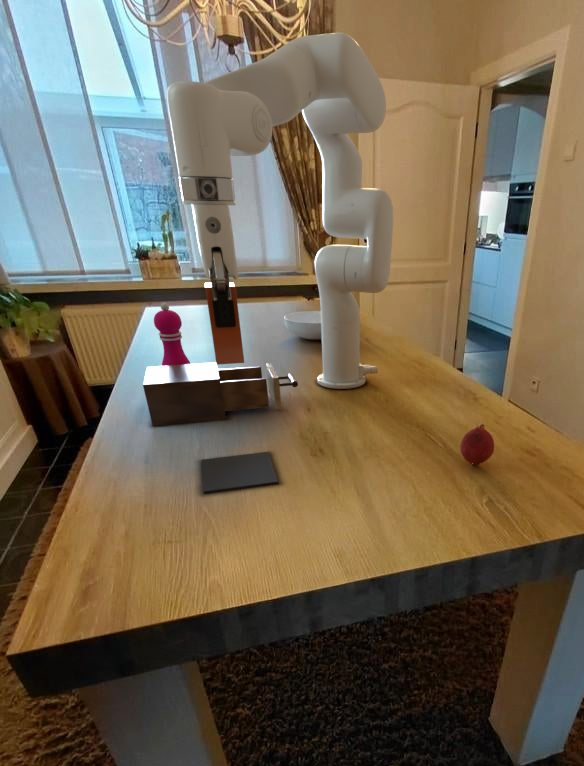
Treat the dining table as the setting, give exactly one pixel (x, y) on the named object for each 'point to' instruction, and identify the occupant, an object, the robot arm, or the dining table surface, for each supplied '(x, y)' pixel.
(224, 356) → the tall orange-brown block
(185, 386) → the cabinet
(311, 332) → the serving bowl
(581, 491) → the dining table surface
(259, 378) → the drawer
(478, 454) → the onion
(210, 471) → the mat
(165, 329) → the pepper mill
